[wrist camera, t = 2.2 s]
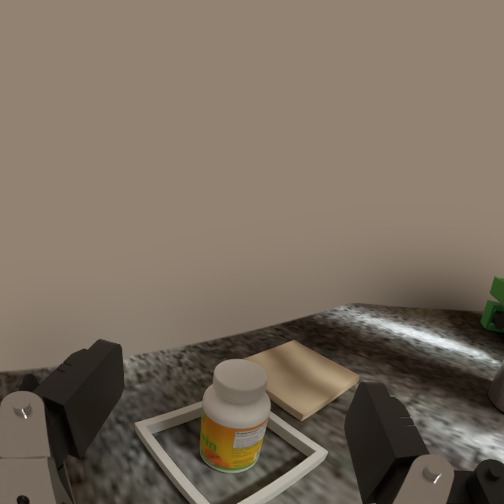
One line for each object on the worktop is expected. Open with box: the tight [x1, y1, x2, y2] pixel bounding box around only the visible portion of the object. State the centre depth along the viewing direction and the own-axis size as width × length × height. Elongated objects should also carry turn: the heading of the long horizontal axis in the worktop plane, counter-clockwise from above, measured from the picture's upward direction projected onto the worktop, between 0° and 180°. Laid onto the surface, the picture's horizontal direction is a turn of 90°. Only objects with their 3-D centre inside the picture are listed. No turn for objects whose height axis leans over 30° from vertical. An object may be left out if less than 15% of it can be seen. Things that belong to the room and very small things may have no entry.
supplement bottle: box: [200, 359, 271, 473], centre depth 23 cm, size 5×5×10 cm
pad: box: [242, 340, 360, 421], centre depth 37 cm, size 12×12×1 cm
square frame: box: [134, 401, 328, 504], centre depth 24 cm, size 13×13×1 cm
